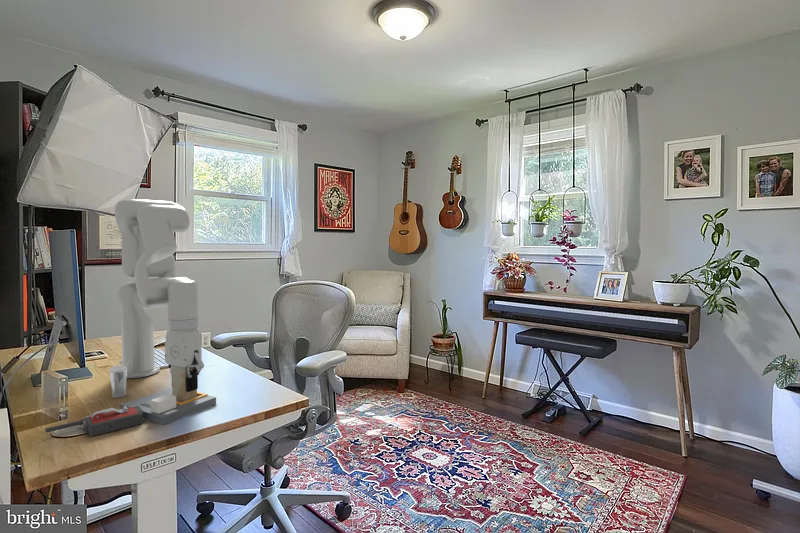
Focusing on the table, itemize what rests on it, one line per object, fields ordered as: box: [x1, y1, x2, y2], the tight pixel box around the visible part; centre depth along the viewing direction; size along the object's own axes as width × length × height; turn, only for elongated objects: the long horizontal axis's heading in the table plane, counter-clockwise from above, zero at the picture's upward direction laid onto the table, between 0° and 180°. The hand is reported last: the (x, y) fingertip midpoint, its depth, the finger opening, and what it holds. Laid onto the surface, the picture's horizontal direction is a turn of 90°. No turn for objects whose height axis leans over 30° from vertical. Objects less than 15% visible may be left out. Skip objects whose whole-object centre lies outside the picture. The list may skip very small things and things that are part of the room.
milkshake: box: [108, 361, 129, 399], centre depth 131 cm, size 4×5×10 cm
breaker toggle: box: [151, 394, 176, 414], centre depth 115 cm, size 3×5×3 cm, turn 152°
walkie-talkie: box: [44, 406, 144, 437], centre depth 108 cm, size 9×4×20 cm
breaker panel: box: [119, 387, 217, 426], centre depth 122 cm, size 18×16×2 cm
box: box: [171, 363, 198, 402], centre depth 124 cm, size 5×4×11 cm
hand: (184, 387), depth 124 cm, fingers open, 5 cm apart
